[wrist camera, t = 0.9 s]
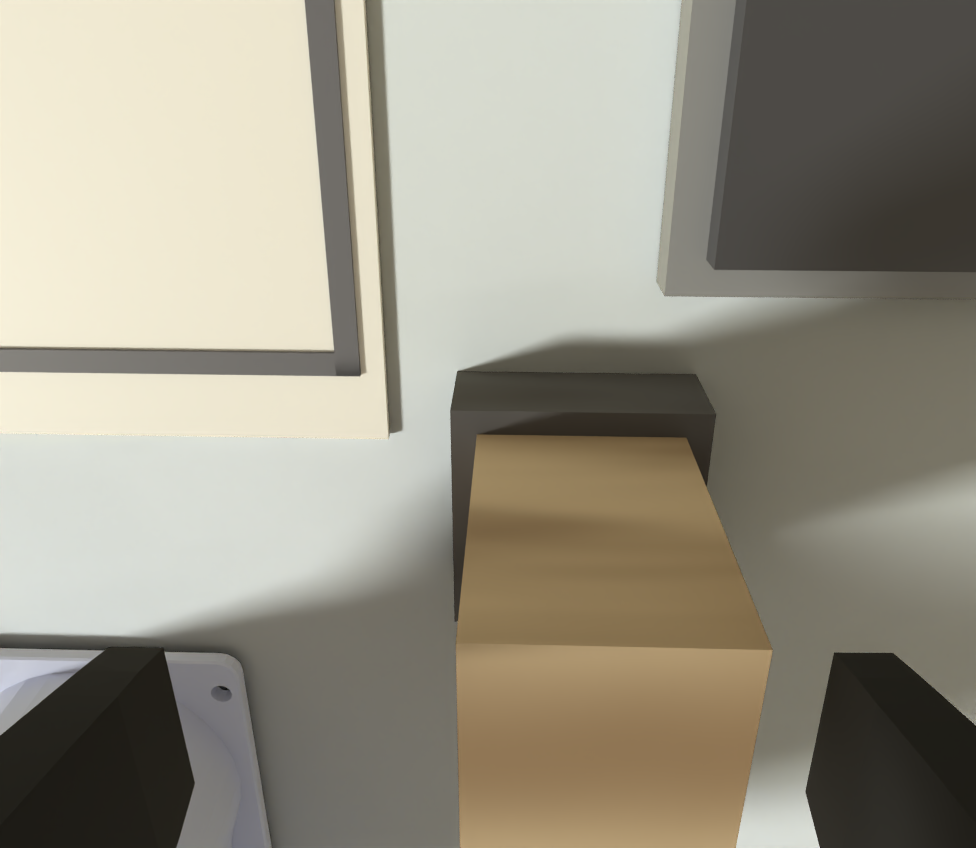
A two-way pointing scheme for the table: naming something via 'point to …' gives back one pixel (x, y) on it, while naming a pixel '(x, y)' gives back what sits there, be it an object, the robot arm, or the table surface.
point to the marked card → (189, 220)
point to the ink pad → (822, 150)
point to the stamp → (597, 617)
